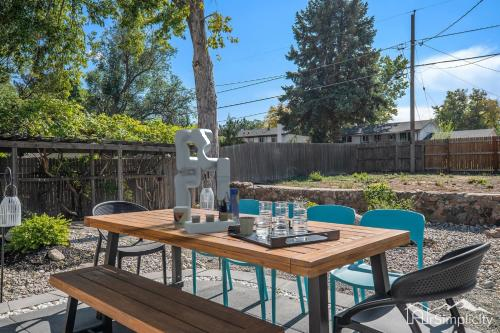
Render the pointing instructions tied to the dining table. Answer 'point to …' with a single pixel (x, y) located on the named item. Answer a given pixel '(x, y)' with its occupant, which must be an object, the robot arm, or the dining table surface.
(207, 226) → the socket board
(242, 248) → the dining table surface
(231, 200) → the beverage box
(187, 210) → the coffee cup
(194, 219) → the plug left
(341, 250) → the dining table surface
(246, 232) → the flower pot
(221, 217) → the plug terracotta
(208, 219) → the plug middle
